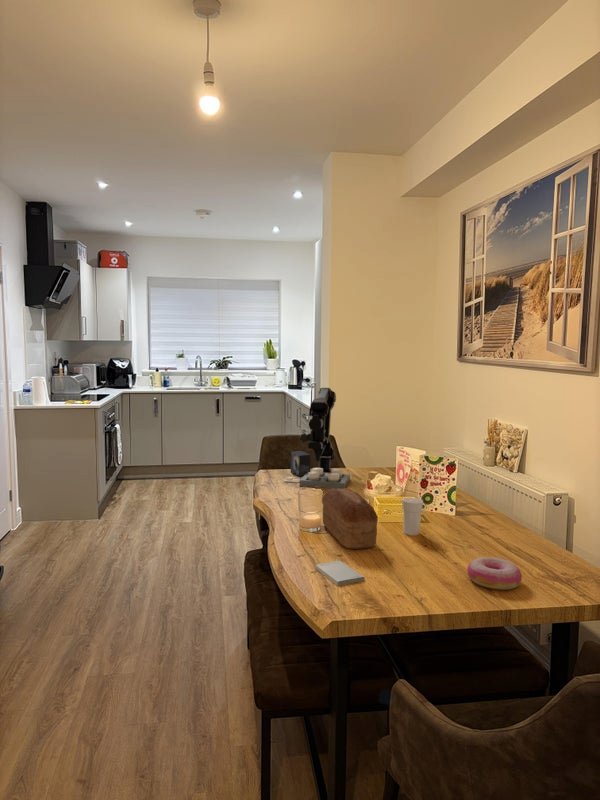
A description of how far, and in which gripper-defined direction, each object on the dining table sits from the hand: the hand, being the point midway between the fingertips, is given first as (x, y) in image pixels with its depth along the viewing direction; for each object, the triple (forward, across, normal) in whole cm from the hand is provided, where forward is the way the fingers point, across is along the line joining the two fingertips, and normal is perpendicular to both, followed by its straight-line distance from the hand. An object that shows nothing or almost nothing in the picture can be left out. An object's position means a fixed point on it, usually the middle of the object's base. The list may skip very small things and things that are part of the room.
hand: (317, 461), depth 255 cm
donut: (+9, +100, +66) cm, 120 cm away
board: (+9, +5, 0) cm, 10 cm away
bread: (+9, +75, +24) cm, 79 cm away
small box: (+9, -9, -10) cm, 17 cm away
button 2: (+7, 0, 0) cm, 7 cm away
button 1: (+7, +9, 0) cm, 11 cm away
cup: (+9, +66, +44) cm, 80 cm away
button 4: (+7, 0, +9) cm, 11 cm away
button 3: (+7, +9, +9) cm, 14 cm away
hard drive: (+9, +106, +26) cm, 109 cm away
